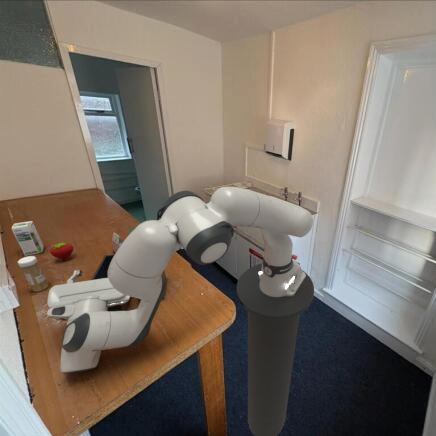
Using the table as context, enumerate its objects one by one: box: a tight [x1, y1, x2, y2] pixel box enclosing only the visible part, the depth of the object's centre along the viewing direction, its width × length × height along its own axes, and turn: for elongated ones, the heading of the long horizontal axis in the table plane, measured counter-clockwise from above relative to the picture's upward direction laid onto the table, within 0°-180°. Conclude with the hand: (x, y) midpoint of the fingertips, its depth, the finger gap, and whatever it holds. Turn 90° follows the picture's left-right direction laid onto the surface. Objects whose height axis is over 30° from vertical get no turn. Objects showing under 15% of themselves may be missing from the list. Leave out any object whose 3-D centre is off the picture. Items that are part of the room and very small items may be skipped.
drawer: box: [90, 253, 130, 311], centre depth 89 cm, size 30×12×8 cm, turn 21°
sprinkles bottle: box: [17, 255, 50, 293], centre depth 86 cm, size 5×5×13 cm
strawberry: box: [49, 241, 74, 261], centre depth 103 cm, size 6×8×10 cm
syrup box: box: [11, 220, 45, 257], centre depth 105 cm, size 6×6×14 cm
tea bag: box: [110, 232, 124, 253], centre depth 111 cm, size 4×7×10 cm, turn 55°
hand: (96, 268), depth 77 cm, fingers open, 8 cm apart
